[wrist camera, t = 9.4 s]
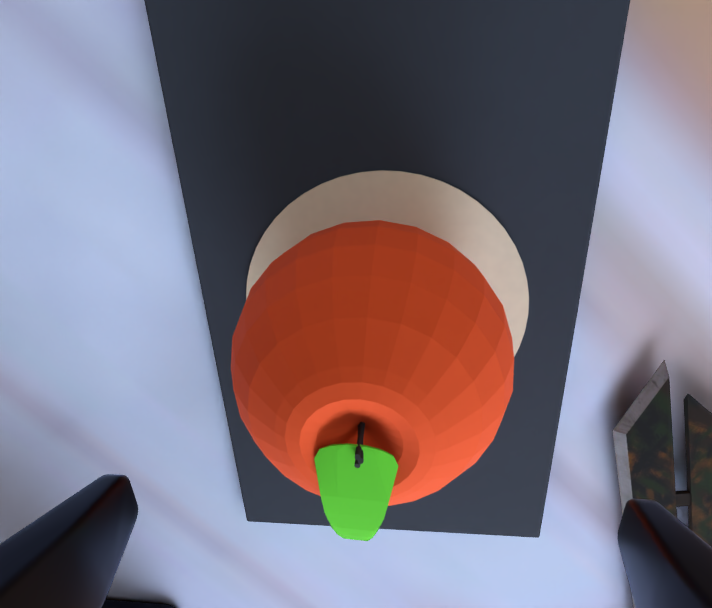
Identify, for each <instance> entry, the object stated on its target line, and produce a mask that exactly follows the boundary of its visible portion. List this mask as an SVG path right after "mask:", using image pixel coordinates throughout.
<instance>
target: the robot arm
mask: <svg viewBox="0 0 712 608" xmlns="http://www.w3.org/2000/svg"><path fill="white" fill-rule="evenodd" d="M137 515H138V505H137V502H136V498H135V495H134V492H133V489H132V486H131V483H130V480H129V478H128V477H126V476H125V475H113V474H107V475H103V476H101V477H100V478H98V479H97V480H95V481H94V482H92V483H91V484H89V485H88V486H86V487H85V488H83V489H82V490H80V491H79V492H77V493H76V494H74V495H73V496H71V497H70V498H68V499H67V500H65V501H64V502H62V503H61V504H59V505H58V506H56V507H55V508H53V509H52V510H50V511H49V512H47V513H46V514H44V515H43V516H41V517H40V518H38V519H37V520H35V521H34V522H32V523H31V524H29V525H28V526H26V527H25V528H23V529H22V530H20V531H19V532H17V533H16V534H14V535H13V536H11V537H10V538H8V539H7V540H5V541H4V542H3V543H1V544H0V608H175V607H173V606H171V605H165V604H152V603H139V602H126V601H113V600H105V599H106V596H107V594H108V592H109V589H110V587H111V584H112V582H113V579H114V576H115V574H116V571H117V569H118V566H119V563H120V561H121V558H122V555H123V553H124V550H125V548H126V545H127V542H128V540H129V537H130V535H131V532H132V529H133V527H134V524H135V522H136V519H137ZM618 543H619V548H620V552H621V555H622V559H623V563H624V566H625V570H626V574H627V577H628V581H629V585H630V588H631V592H632V595H633V599H634V603H635V606H636V608H712V548H711V547H710V546H709V545H708V544H707V543H706V542H704V541H703V540H702V539H701V538H700V537H698V536H697V535H696V534H695V533H694V532H692V531H691V530H690V529H689V528H688V527H687V526H685V525H684V524H683V523H682V522H681V521H679V520H678V519H677V518H676V517H675V516H674V515H672V514H671V513H670V512H669V511H668V510H666V509H665V508H664V507H663V506H662V505H660V504H659V503H658V502H656V501H654V500H647V499H630V500H628V501H627V502H626V505H625V508H624V512H623V516H622V519H621V523H620V527H619V531H618Z"/></svg>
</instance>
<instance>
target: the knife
mask: <svg viewBox="0 0 712 608" xmlns="http://www.w3.org/2000/svg"><path fill="white" fill-rule="evenodd" d="M684 418H685V442H686V467H687V490H685V491H675V474H674V456H673V437H672V419H671V401H670V382H669V374H668V371H667V367H666V364H665V360H664V361H663V362H662V363H661V365H660V366H659V368H658V369H657V370H656V372H655V373H654V374H653V376H652V377H651V379H650V380H649V381H648V383H647V384H646V385H645V387H644V388H643V390H642V391H641V392H640V394H639V395H638V396H637V398H636V399H635V401H634V402H633V403H632V405H631V406H630V407H629V409H628V410H627V412H626V413H625V414H624V416H623V417H622V418H621V420H620V421H619V423H618V424H617V425H616V427H615V428H614V429H613V438H614V447H615V455H616V464H617V473H618V481H619V490H620V498H621V507H622V515H623V512H624V508H625V505H626V502H627V501H628V500H630V499H647V500H654V501H656V502H658V503H659V504H660V505H662V506H663V507H664V508H665V509H666V510H668V511H669V512H670V513H671V514H672V515H674V516H675V517H676V518H677V511H676V507H680V506H688V515H689V529H690V530H691V531H692V532H694V533H695V534H696V535H697V536H698V537H700V538H701V539H702V540H703V541H704V542H706V543H707V544H708V545H709V546H710V547H711V548H712V413H711V412H709V411H708V410H707V409H706V408H705V407H704V406H702V405H701V404H700V403H699V402H698V401H696V400H695V399H694V398H693V397H692V396H691V395H689V394H688V393H687V395H686V397H685V398H684ZM632 601H633V608H636V606H635V603H634V599H633V595H632Z"/></svg>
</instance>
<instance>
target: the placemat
mask: <svg viewBox="0 0 712 608" xmlns="http://www.w3.org/2000/svg"><path fill="white" fill-rule="evenodd" d="M629 4H630V0H145V5H146V11H147V16H148V21H149V26H150V31H151V36H152V41H153V46H154V51H155V56H156V61H157V66H158V71H159V76H160V81H161V86H162V92H163V97H164V102H165V107H166V112H167V117H168V122H169V127H170V132H171V137H172V142H173V147H174V152H175V157H176V162H177V168H178V173H179V178H180V183H181V188H182V193H183V198H184V203H185V208H186V213H187V218H188V223H189V228H190V233H191V238H192V244H193V249H194V254H195V259H196V264H197V269H198V274H199V279H200V284H201V289H202V294H203V299H204V304H205V309H206V314H207V320H208V325H209V330H210V335H211V340H212V345H213V350H214V355H215V360H216V365H217V370H218V375H219V380H220V385H221V390H222V396H223V401H224V406H225V411H226V416H227V421H228V426H229V431H230V436H231V441H232V446H233V451H234V456H235V461H236V466H237V471H238V477H239V482H240V487H241V492H242V497H243V502H244V507H245V512H246V517H247V521H253V522H271V523H289V524H307V525H324V526H331V525H330V523H329V521H328V519H327V517H326V515H325V512H324V508H323V504H322V500H321V496H319V495H316V494H314V493H311V492H309V491H307V490H305V489H303V488H302V487H300V486H299V485H297V484H296V483H294V482H293V481H291V480H290V479H288V478H287V477H285V476H284V475H283V474H282V473H281V472H280V471H279V470H278V469H277V468H276V467H275V466H274V465H273V464H272V463H271V462H270V461H269V460H268V459H267V458H266V456H265V455H264V454H263V452H262V451H261V450H260V448H259V447H258V446H257V444H256V443H255V442H254V440H253V438H252V436H251V435H250V433H249V431H248V429H247V428H246V426H245V424H244V422H243V421H242V419H241V417H240V414H239V410H238V406H237V402H236V398H235V394H234V390H233V382H232V374H231V353H232V337H233V334H234V331H235V329H236V326H237V323H238V321H239V318H240V315H241V313H242V310H243V308H244V305H245V302H246V300H247V297H248V295H249V292H250V289H251V288H252V286H253V285H254V284H255V283H256V281H257V280H258V279H259V277H260V276H261V275H262V274H263V272H264V271H265V270H266V269H267V267H268V266H269V265H270V264H271V262H273V261H274V260H275V259H277V258H278V257H279V256H280V255H282V254H283V253H284V252H286V251H287V250H289V249H290V248H292V247H293V246H295V245H296V244H297V243H299V242H300V241H302V240H303V239H305V238H306V237H308V236H309V235H310V234H313V233H315V232H318V231H321V230H324V229H327V228H330V227H333V226H336V225H339V224H342V223H346V222H360V221H374V220H382V221H388V222H393V223H398V224H404V225H409V226H414V227H417V228H420V229H422V230H424V231H426V232H428V233H430V234H432V235H434V236H437V237H439V238H441V239H443V240H445V241H447V242H449V243H450V244H451V245H452V246H454V247H455V248H456V249H457V250H458V251H459V252H461V253H462V254H463V255H464V256H465V257H466V258H468V259H469V260H470V261H471V262H472V263H473V264H475V266H476V267H477V268H478V269H479V271H480V272H481V273H482V275H483V276H484V277H485V279H486V280H487V282H488V283H489V285H490V287H491V288H492V290H493V291H494V293H495V294H496V296H497V297H498V299H499V300H500V302H501V303H502V305H503V307H504V311H505V314H506V318H507V321H508V325H509V328H510V332H511V335H512V341H513V352H514V375H513V392H512V395H511V397H510V400H509V403H508V405H507V408H506V411H505V413H504V416H503V419H502V421H501V423H500V426H499V428H498V430H497V433H496V435H495V437H494V440H493V441H492V442H491V444H490V445H489V446H488V448H487V449H486V450H485V451H484V453H483V454H482V455H481V457H480V458H479V459H478V461H477V462H476V463H475V464H474V465H472V466H471V467H470V468H468V469H467V470H466V471H464V472H463V473H462V474H460V475H459V476H458V477H456V478H455V479H454V480H452V481H451V482H450V483H448V484H447V485H445V486H444V487H443V488H441V489H440V490H439V491H437V492H434V493H432V494H430V495H427V496H425V497H422V498H420V499H418V500H415V501H412V502H407V503H402V504H397V505H391V506H388V507H387V510H386V514H385V517H384V520H383V522H382V523H381V525H380V527H379V529H396V530H414V531H431V532H449V533H467V534H485V535H503V536H521V537H539V535H540V529H541V523H542V517H543V511H544V505H545V499H546V493H547V488H548V482H549V476H550V470H551V464H552V458H553V452H554V446H555V440H556V434H557V429H558V423H559V417H560V411H561V405H562V399H563V393H564V387H565V381H566V375H567V370H568V364H569V358H570V352H571V346H572V340H573V334H574V328H575V322H576V316H577V311H578V305H579V299H580V293H581V287H582V281H583V275H584V269H585V263H586V257H587V251H588V246H589V240H590V234H591V228H592V222H593V216H594V210H595V204H596V198H597V192H598V187H599V181H600V175H601V169H602V163H603V157H604V151H605V145H606V139H607V133H608V128H609V122H610V116H611V110H612V104H613V98H614V92H615V86H616V80H617V74H618V69H619V63H620V57H621V51H622V45H623V39H624V33H625V27H626V21H627V15H628V10H629Z"/></svg>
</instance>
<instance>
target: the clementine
mask: <svg viewBox="0 0 712 608" xmlns="http://www.w3.org/2000/svg"><path fill="white" fill-rule="evenodd" d="M231 374H232V382H233V390H234V394H235V398H236V402H237V406H238V410H239V414H240V417H241V419H242V421H243V422H244V424H245V426H246V428H247V429H248V431H249V433H250V435H251V436H252V438H253V440H254V442H255V443H256V444H257V446H258V447H259V448H260V450H261V451H262V452H263V454H264V455H265V456H266V458H267V459H268V460H269V461H270V462H271V463H272V464H273V465H274V466H275V467H276V468H277V469H278V470H279V471H280V472H281V473H282V474H283V475H284V476H285V477H287V478H288V479H290V480H291V481H293V482H294V483H296V484H297V485H299V486H300V487H302V488H303V489H305V490H307V491H309V492H311V493H314V494H316V495H319V496H321V500H322V504H323V508H324V512H325V515H326V517H327V519H328V521H329V523H330V525H331V527H332V528H333V529H334V531H335V532H336V533H337V534H338V535H339V536H341V537H342V538H345V539H354V540H364V541H368V540H370V539H371V538H373V536H374V535H375V534H376V532H377V531H378V529H379V527H380V525H381V523H382V522H383V520H384V517H385V514H386V510H387V507H388V506H391V505H397V504H402V503H407V502H412V501H415V500H418V499H420V498H422V497H425V496H427V495H430V494H432V493H434V492H437V491H439V490H440V489H441V488H443V487H444V486H445V485H447V484H448V483H450V482H451V481H452V480H454V479H455V478H456V477H458V476H459V475H460V474H462V473H463V472H464V471H466V470H467V469H468V468H470V467H471V466H472V465H474V464H475V463H476V462H477V461H478V459H479V458H480V457H481V455H482V454H483V453H484V451H485V450H486V449H487V448H488V446H489V445H490V444H491V442H492V441H493V440H494V437H495V435H496V433H497V430H498V428H499V426H500V423H501V421H502V419H503V416H504V413H505V411H506V408H507V405H508V403H509V400H510V397H511V395H512V392H513V375H514V352H513V341H512V335H511V332H510V328H509V325H508V321H507V318H506V314H505V311H504V307H503V305H502V303H501V302H500V300H499V299H498V297H497V296H496V294H495V293H494V291H493V290H492V288H491V287H490V285H489V283H488V282H487V280H486V279H485V277H484V276H483V275H482V273H481V272H480V271H479V269H478V268H477V267H476V266H475V264H473V263H472V262H471V261H470V260H469V259H468V258H466V257H465V256H464V255H463V254H462V253H461V252H459V251H458V250H457V249H456V248H455V247H454V246H452V245H451V244H450V243H449V242H447V241H445V240H443V239H441V238H439V237H437V236H434V235H432V234H430V233H428V232H426V231H424V230H422V229H420V228H417V227H414V226H409V225H404V224H398V223H393V222H388V221H382V220H374V221H360V222H346V223H342V224H339V225H336V226H333V227H330V228H327V229H324V230H321V231H318V232H315V233H313V234H310V235H309V236H308V237H306V238H305V239H303V240H302V241H300V242H299V243H297V244H296V245H295V246H293V247H292V248H290V249H289V250H287V251H286V252H284V253H283V254H282V255H280V256H279V257H278V258H277V259H275V260H274V261H273V262H271V264H270V265H269V266H268V267H267V269H266V270H265V271H264V272H263V274H262V275H261V276H260V277H259V279H258V280H257V281H256V283H255V284H254V285H253V286H252V288H251V289H250V292H249V295H248V297H247V300H246V302H245V305H244V308H243V310H242V313H241V315H240V318H239V321H238V323H237V326H236V329H235V331H234V334H233V337H232V353H231Z"/></svg>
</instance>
